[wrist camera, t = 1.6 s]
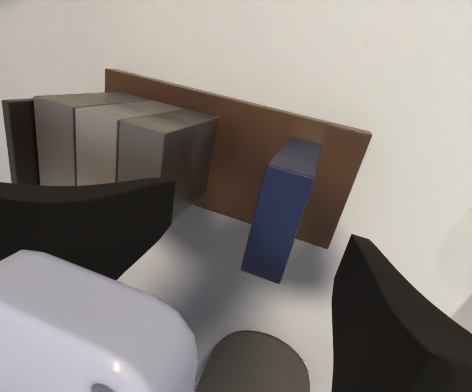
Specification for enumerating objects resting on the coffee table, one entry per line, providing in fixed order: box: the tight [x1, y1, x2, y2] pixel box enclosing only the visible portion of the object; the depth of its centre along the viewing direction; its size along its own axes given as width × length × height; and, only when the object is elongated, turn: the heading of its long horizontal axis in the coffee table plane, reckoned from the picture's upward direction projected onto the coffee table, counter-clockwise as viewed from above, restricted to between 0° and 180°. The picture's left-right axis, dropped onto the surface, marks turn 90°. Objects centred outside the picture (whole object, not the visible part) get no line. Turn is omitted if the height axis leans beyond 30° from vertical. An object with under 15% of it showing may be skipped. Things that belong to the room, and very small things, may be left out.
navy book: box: [241, 137, 322, 284], centre depth 16 cm, size 6×2×7 cm, turn 168°
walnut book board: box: [2, 69, 372, 249], centre depth 17 cm, size 8×18×9 cm, turn 78°
